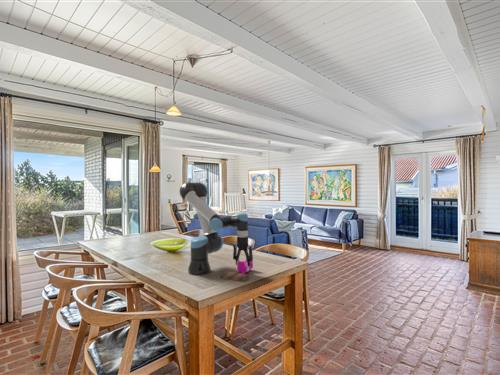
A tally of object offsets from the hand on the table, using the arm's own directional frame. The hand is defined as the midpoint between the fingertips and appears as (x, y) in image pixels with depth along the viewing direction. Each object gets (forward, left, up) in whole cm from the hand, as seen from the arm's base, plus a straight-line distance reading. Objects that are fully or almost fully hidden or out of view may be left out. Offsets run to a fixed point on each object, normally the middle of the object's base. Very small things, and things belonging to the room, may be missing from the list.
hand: (243, 270), depth 186 cm
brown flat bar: (-1, -11, -2) cm, 12 cm away
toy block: (0, +2, -1) cm, 2 cm away
